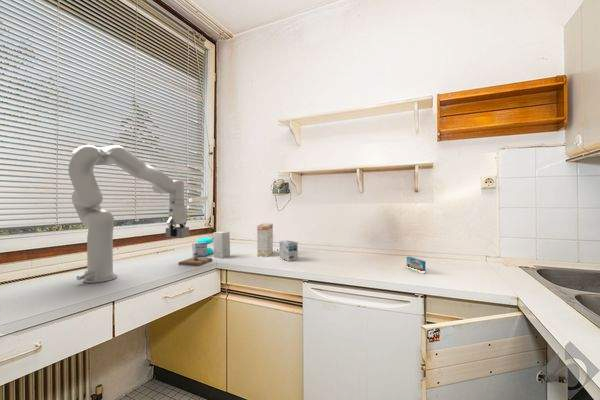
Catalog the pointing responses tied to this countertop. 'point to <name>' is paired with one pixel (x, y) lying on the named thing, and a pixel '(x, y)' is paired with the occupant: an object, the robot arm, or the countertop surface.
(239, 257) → the countertop surface
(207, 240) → the donuts
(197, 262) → the keeper board
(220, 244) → the skincare box
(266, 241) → the coffeecake box
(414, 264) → the teal flat box
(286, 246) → the light bulb box
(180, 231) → the gray open box
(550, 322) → the countertop surface
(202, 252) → the medicine box
